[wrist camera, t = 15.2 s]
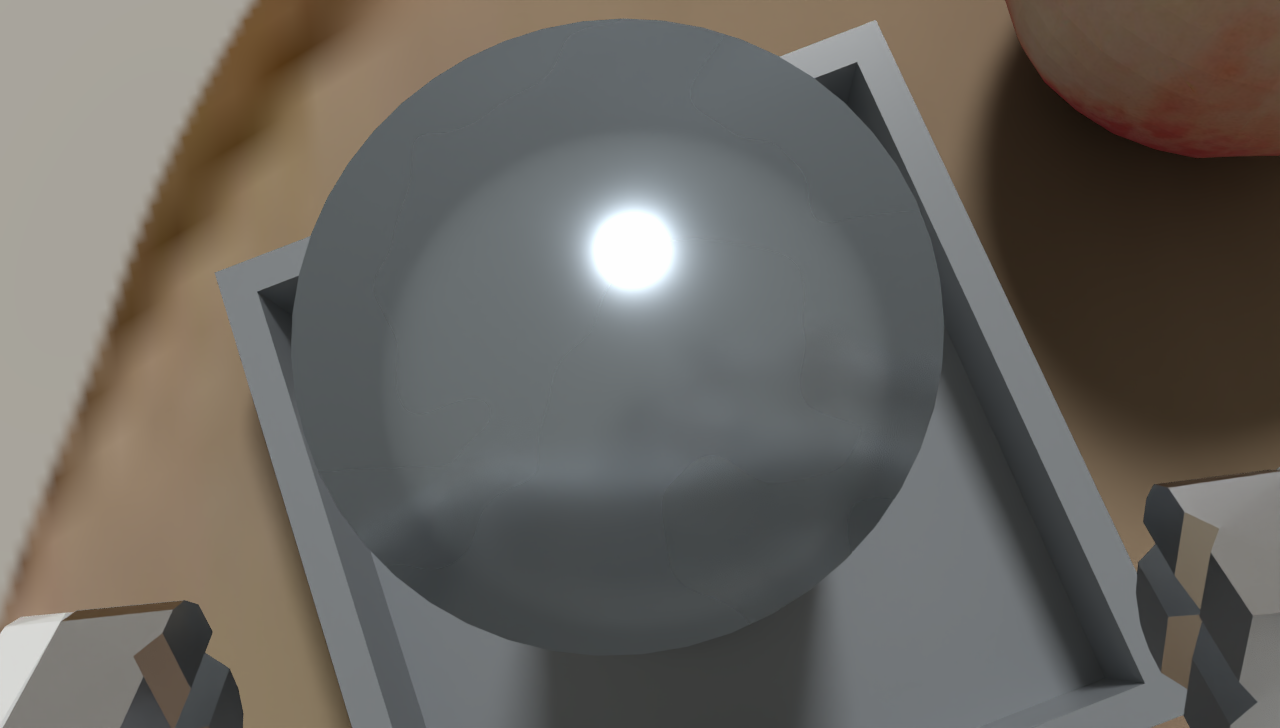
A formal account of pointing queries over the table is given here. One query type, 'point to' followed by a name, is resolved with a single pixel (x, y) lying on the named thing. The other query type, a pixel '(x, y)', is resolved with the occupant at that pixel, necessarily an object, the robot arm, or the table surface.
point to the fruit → (1163, 69)
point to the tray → (841, 602)
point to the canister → (617, 337)
